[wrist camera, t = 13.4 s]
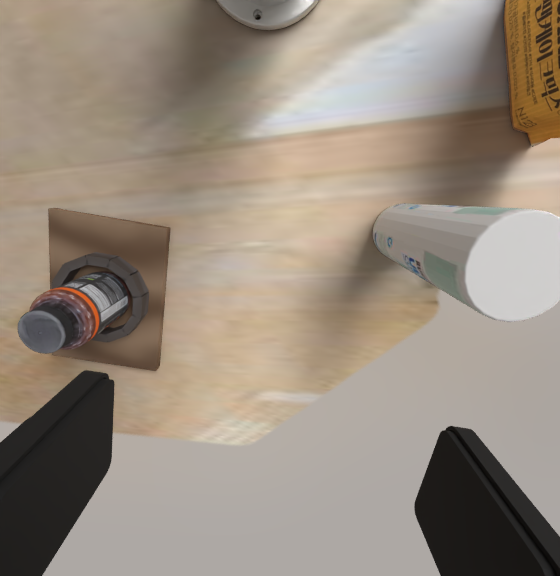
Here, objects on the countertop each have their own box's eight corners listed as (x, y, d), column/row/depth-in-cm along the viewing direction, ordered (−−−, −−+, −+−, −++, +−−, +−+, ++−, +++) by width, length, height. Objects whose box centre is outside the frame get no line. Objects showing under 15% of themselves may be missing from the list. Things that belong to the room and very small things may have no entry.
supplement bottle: (98, 325, 40) (29, 374, 29) (72, 280, 38) (-12, 315, 27) (142, 307, 39) (88, 351, 28) (117, 262, 37) (49, 289, 27)
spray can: (359, 240, 38) (439, 286, 19) (393, 190, 36) (519, 185, 17) (404, 269, 39) (525, 342, 20) (439, 222, 37) (607, 250, 18)
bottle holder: (55, 208, 37) (35, 209, 34) (170, 227, 38) (160, 230, 34) (58, 350, 42) (40, 362, 39) (159, 366, 42) (150, 379, 39)
